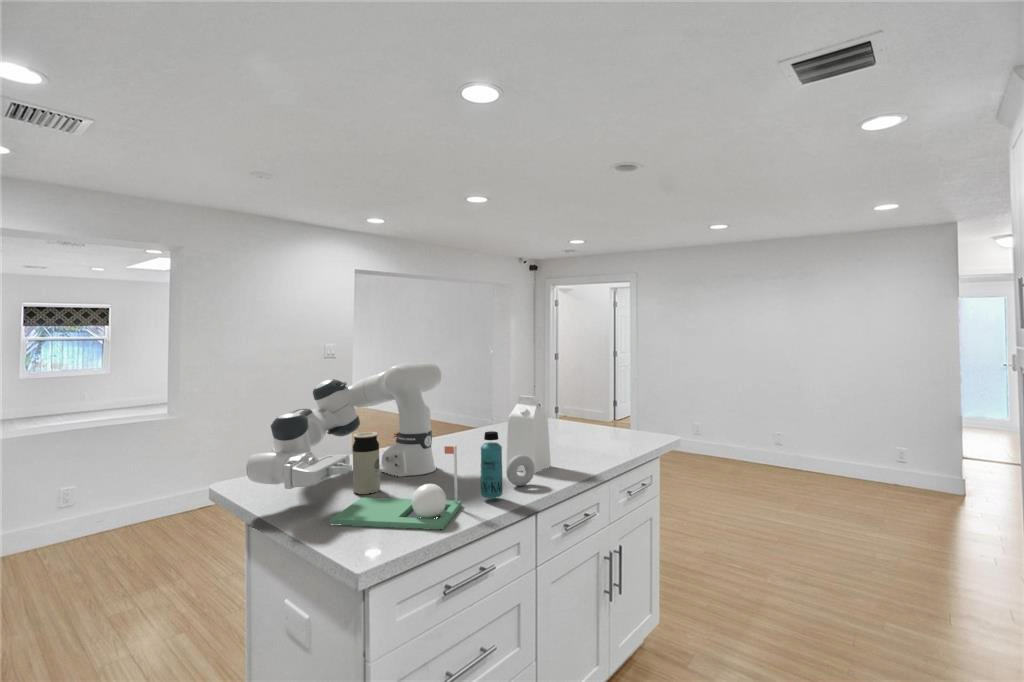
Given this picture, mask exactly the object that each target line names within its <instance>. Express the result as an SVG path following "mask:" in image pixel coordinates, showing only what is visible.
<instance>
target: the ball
mask: <svg viewBox="0 0 1024 682" xmlns="http://www.w3.org/2000/svg"><path fill="white" fill-rule="evenodd" d="M411 499H412V508H413V510H414V512H415V513H416V514H417V515H418V516H419V517H421V518H432V519H434V518H436V517H438V516H439V515H440V514H441V513H442V512H443V510H444V508H445V506H446V500H447V496H446V493H445V491H444V489H442V487H440V486H439V485H438V484H435V483H425V484H422V485H420V486H419V487H418V488H417V489H415V491H414V493H413V494H412V498H411Z"/></svg>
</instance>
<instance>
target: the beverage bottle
mask: <svg viewBox="0 0 1024 682" xmlns="http://www.w3.org/2000/svg"><path fill="white" fill-rule="evenodd" d="M483 439H484V440H485V441H489V442H484V443H483V444H482V445H481V446H480V471H479V472H480V495H481V497H482V498H485V499H495V498H499V497H501V496H502V495H503V492H504V491H503V489H504V485H503V481H504V480H503V477H504V476H503V474H504V473H503V452H502V451H503V446H502V445H501V444H500V443H499V442H496V441H497V440H499V433H498V431H491V430H490V431H485V432H484V437H483ZM492 441H493V442H492Z"/></svg>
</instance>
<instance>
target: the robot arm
mask: <svg viewBox="0 0 1024 682" xmlns="http://www.w3.org/2000/svg"><path fill="white" fill-rule="evenodd" d="M441 381H442V371H441V369H440V368H439V366H438V365H436V364H434V363H432V362H429V361H418V362H406V363H398V364H396V365H394V366H391V367H389V368H388V369H387V370H384V371H382V372H379V373H376V374H373V375H370V376H366V377H365V378H362V379H360V380H358V381H356V382H355V383H353V384H352V385H350V386H347V385H348V384H347V382H346V381H344V382H343V381H340V380H339V379H335V378H332V379H326V380H323V381H321V382H320V383H319V384H317V385H316V386H315V387H314V388H313V391H312V395H313V399H314V401H316V405H317V407H318V408H301V409H299V408H298V409H296V410H293V411H290V412H288V413H284V414H281V415H279V416H276V418H275V419H274V420H273V421H272V423H271V425H270V428H271V429H270V430H271V433H272V437H273V444H274V451H268V452H259V453H254V454H251V455H250V456H249V457H248V459H247V462H246V463H247V464H246V473H247V474H246V475H247V479H248V480H249V481H250V482H254V483H256V484H257V483H258V484H263V485H280V484H283V485H284V489H286V490H287V489H288V490H292V489H294V488H306V487H313V486H316V485H318V484H319V483H322V482H323V481H325V480H327V479H328V478H330V477H332V476H337V475H346V474H348V473H350V472H351V471H352V472H353V464H350V463H351V461H350V455H349V454H347V453H346V454H345V453H343V454H342V453H340V454H339V453H337V454H326V455H323V456H321V457H316V456H315V454H314V453H312V449H311V447H315V446H317V445H319V444H320V443H321V442H322V440H323V439H324V437H325V436H326V434H327V435H333V436H335V437H345V436H349V435H351V434H353V433H354V432H355V431H357V429H358V428H360V425H361V420H360V417H359V415H358V414H357V411H356V409H355V407H356V408H367V407H373V406H379V405H381V404H384V403H388V402H391V401H395V403H396V405H397V411H398V423H399V424H398V426H399V428H398V429H399V431H398V432H397V433H393V435H394V436H393V438H396V439H395V442H394V443H393V444H392V445H390V446H389V448H387V449H386V450H385V451H384V452H383V453H382V455H381V463H379V470H380V471H381V472H380V473H382V472H385V473H384V474H386V473H388V474H387V475H390V474H391V475H390V476H394V475H395V476H394V477H397V476H398V478H401V477H407V476H409V477H410V476H420V475H426V474H430V473H432V472H434V471H436V469H437V467H436V465H435V461H434V455H433V448H432V443H433V433H432V430H431V429H432V428H431V427H432V426H431V409H430V407H429V406H428V405H427V404H426V403H425V401H424V398H423V393H425V392H429V391H431V390H433V389H435V388H436V387H438V385H440V383H441Z"/></svg>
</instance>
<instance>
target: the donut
mask: <svg viewBox="0 0 1024 682" xmlns="http://www.w3.org/2000/svg"><path fill="white" fill-rule="evenodd" d="M506 465H507V464H506ZM521 465H523V466H524V472H522V474H520V475H519V474H518V473H517V472H518V471H517V469H518V467H519V466H521ZM505 471H506V473H505V474H506V478H507V480H508V481H509V483H511V485H514V486H516V487H522V486H525V485H527V484H528V483H530V482H531V481H532V479H533V478H534V475H535V474H534V471H535V467H534V463H533V461H532V459H531V458H530V457H528V456H526V455H517V456H515V457H514V458H512V459H511V460H510V462H509V463H508V465H507V469H506V470H505Z"/></svg>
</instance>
